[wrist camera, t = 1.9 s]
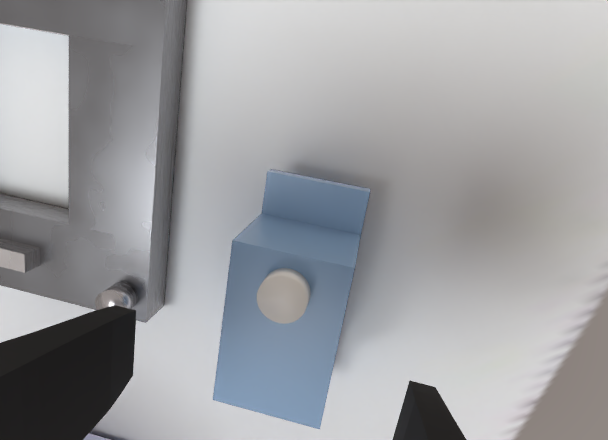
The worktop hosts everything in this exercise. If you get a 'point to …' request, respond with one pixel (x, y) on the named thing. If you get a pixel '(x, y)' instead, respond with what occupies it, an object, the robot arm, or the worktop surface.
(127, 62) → the plate
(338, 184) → the servo
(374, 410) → the worktop surface
